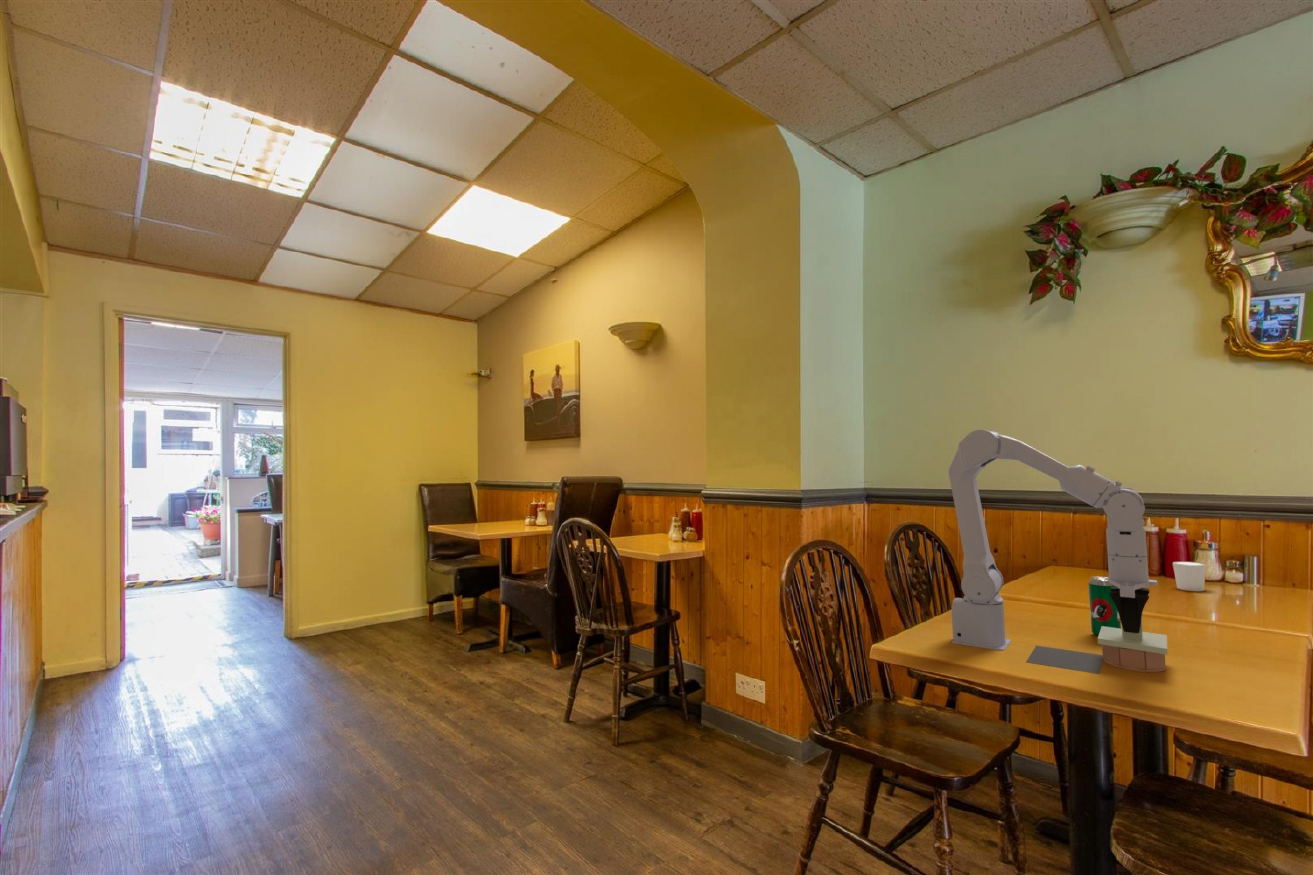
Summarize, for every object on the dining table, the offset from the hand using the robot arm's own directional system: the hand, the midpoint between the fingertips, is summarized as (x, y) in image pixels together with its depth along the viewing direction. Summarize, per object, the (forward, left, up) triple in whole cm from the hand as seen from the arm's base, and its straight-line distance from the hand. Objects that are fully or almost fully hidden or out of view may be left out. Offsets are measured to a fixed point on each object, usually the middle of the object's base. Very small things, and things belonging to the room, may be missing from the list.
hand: (1131, 629), depth 110 cm
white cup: (+10, +82, -7) cm, 82 cm away
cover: (0, 0, -2) cm, 2 cm away
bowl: (0, 0, -6) cm, 6 cm away
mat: (-10, -3, -6) cm, 12 cm away
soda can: (-5, +19, -7) cm, 20 cm away
